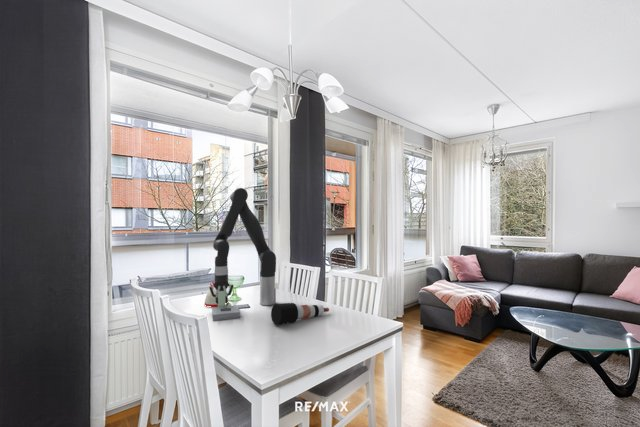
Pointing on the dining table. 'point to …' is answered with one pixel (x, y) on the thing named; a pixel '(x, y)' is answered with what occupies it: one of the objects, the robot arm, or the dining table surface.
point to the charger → (221, 298)
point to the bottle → (294, 312)
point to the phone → (243, 306)
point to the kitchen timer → (211, 298)
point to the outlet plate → (225, 312)
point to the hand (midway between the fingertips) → (221, 302)
